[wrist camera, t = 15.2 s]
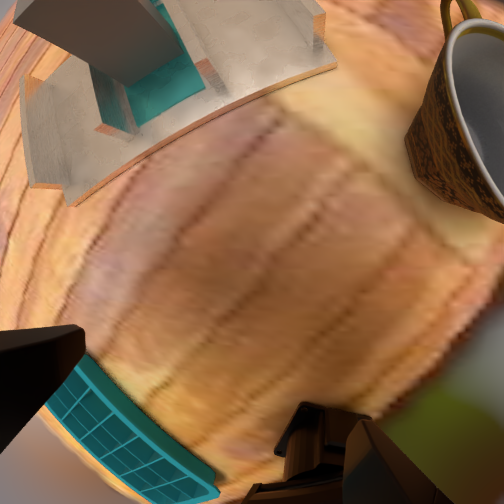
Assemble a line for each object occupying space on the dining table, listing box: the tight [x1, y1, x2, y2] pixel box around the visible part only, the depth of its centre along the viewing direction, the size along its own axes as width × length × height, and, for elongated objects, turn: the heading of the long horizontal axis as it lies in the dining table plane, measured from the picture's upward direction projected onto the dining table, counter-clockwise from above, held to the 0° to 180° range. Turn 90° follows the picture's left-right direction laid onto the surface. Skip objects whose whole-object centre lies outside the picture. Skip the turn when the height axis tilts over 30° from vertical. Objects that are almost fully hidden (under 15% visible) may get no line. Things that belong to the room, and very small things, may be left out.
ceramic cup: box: [405, 0, 504, 224], centre depth 11 cm, size 13×10×10 cm
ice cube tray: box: [45, 354, 221, 504], centre depth 23 cm, size 12×20×3 cm, turn 45°
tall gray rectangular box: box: [13, 0, 184, 88], centre depth 11 cm, size 4×5×12 cm
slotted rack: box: [20, 0, 337, 207], centre depth 16 cm, size 15×23×5 cm, turn 114°
